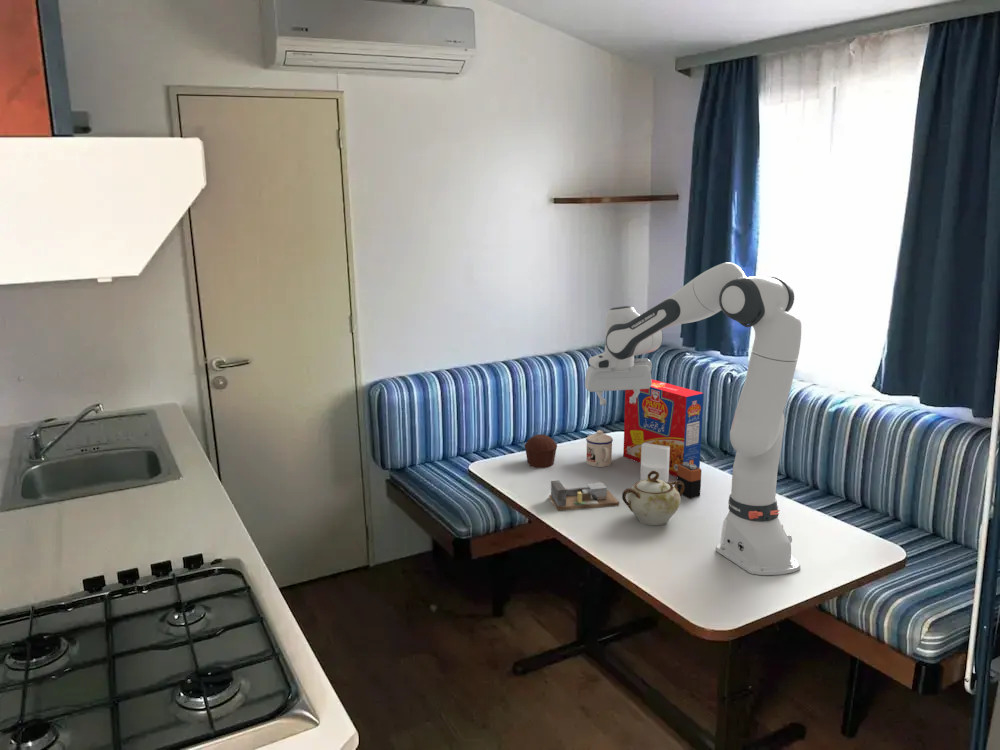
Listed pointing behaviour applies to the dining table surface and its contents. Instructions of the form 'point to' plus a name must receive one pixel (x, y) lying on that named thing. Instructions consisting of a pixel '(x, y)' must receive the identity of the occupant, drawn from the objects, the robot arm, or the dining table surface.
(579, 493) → the telltale marker
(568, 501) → the bench
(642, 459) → the base with upright slab
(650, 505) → the sugar bowl
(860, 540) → the dining table surface
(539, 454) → the muffin
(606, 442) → the teacup with lid
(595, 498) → the gauge plunger
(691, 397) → the pasta box
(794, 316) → the robot arm
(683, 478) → the battery
